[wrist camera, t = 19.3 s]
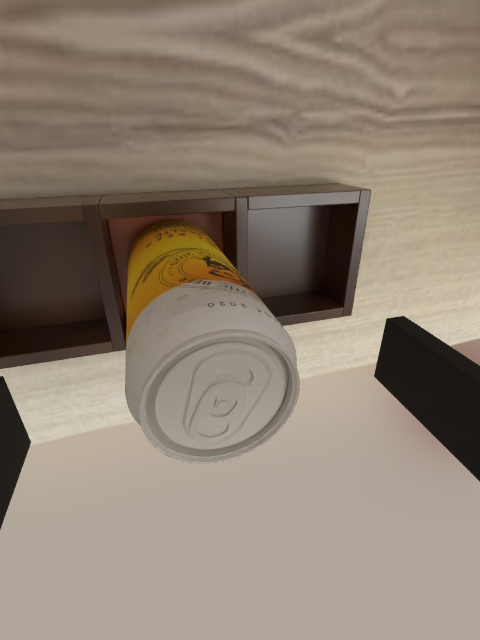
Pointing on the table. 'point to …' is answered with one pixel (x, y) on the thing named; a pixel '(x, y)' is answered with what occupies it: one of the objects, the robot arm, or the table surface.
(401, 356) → the robot arm
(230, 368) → the beer can
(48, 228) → the rack
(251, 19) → the table surface
